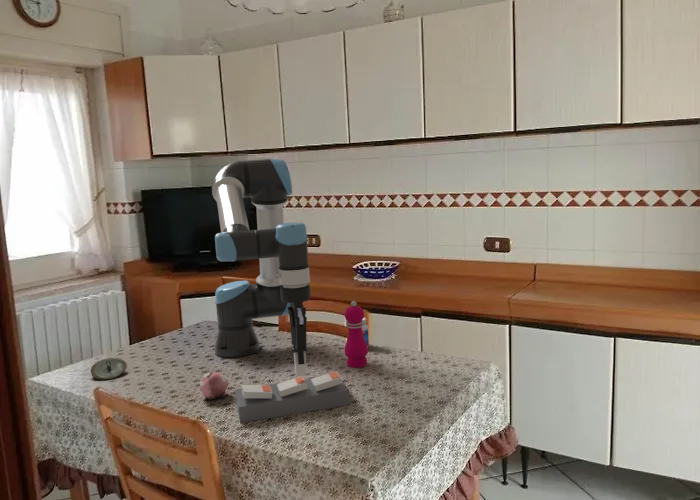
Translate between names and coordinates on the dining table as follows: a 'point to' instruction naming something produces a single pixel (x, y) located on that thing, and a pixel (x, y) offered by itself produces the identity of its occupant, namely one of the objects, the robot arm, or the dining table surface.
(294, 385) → the rocker
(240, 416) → the switch panel
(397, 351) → the dining table surface
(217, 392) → the onion
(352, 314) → the pepper mill
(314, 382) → the rocker
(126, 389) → the dining table surface
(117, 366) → the lid
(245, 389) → the rocker
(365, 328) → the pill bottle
